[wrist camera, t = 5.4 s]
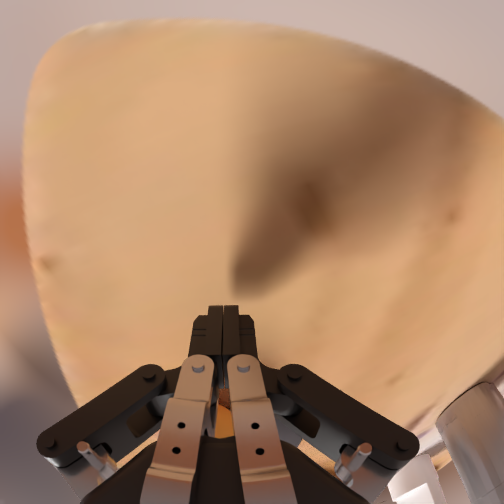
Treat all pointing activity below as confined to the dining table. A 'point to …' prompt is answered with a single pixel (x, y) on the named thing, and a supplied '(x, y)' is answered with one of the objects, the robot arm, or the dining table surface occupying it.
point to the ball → (223, 423)
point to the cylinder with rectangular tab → (417, 483)
